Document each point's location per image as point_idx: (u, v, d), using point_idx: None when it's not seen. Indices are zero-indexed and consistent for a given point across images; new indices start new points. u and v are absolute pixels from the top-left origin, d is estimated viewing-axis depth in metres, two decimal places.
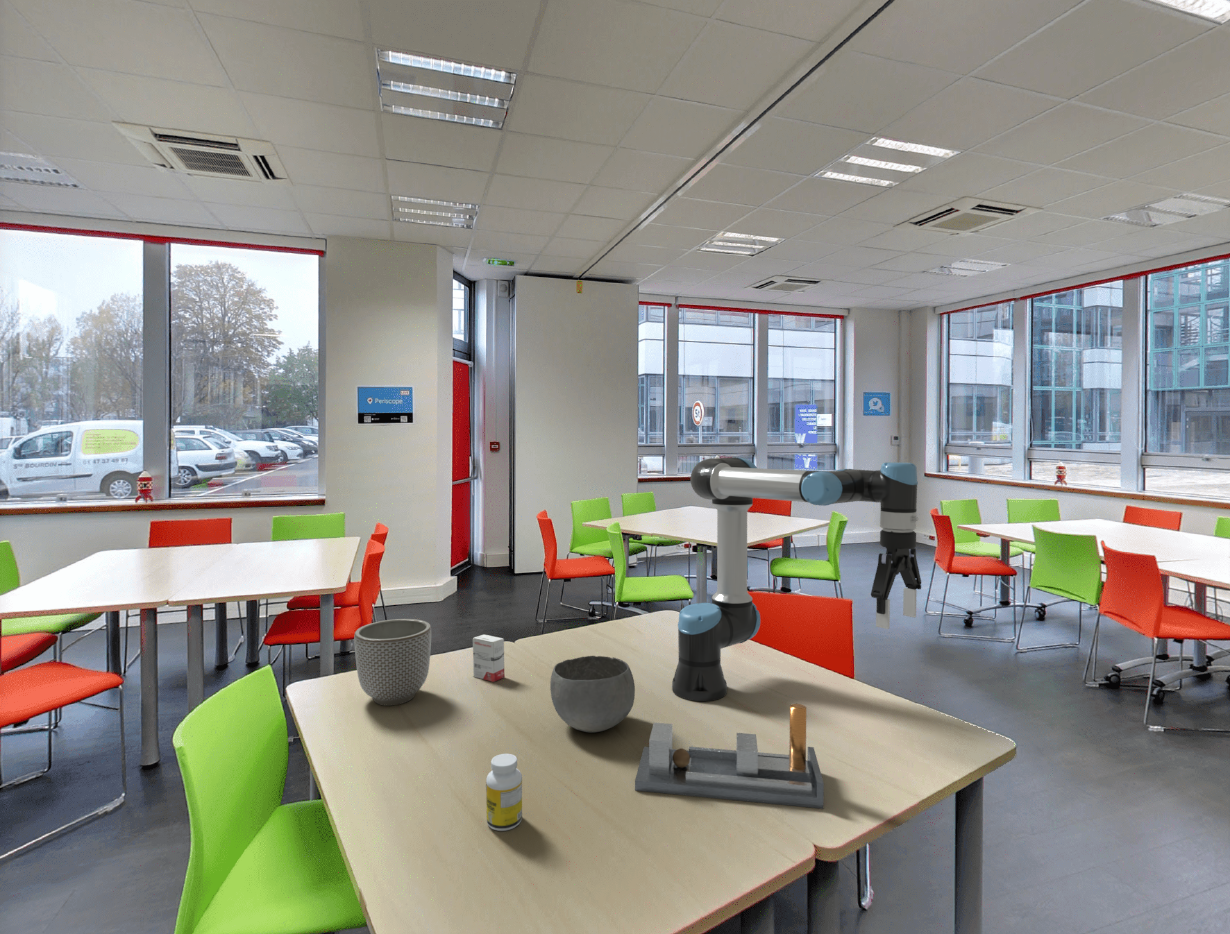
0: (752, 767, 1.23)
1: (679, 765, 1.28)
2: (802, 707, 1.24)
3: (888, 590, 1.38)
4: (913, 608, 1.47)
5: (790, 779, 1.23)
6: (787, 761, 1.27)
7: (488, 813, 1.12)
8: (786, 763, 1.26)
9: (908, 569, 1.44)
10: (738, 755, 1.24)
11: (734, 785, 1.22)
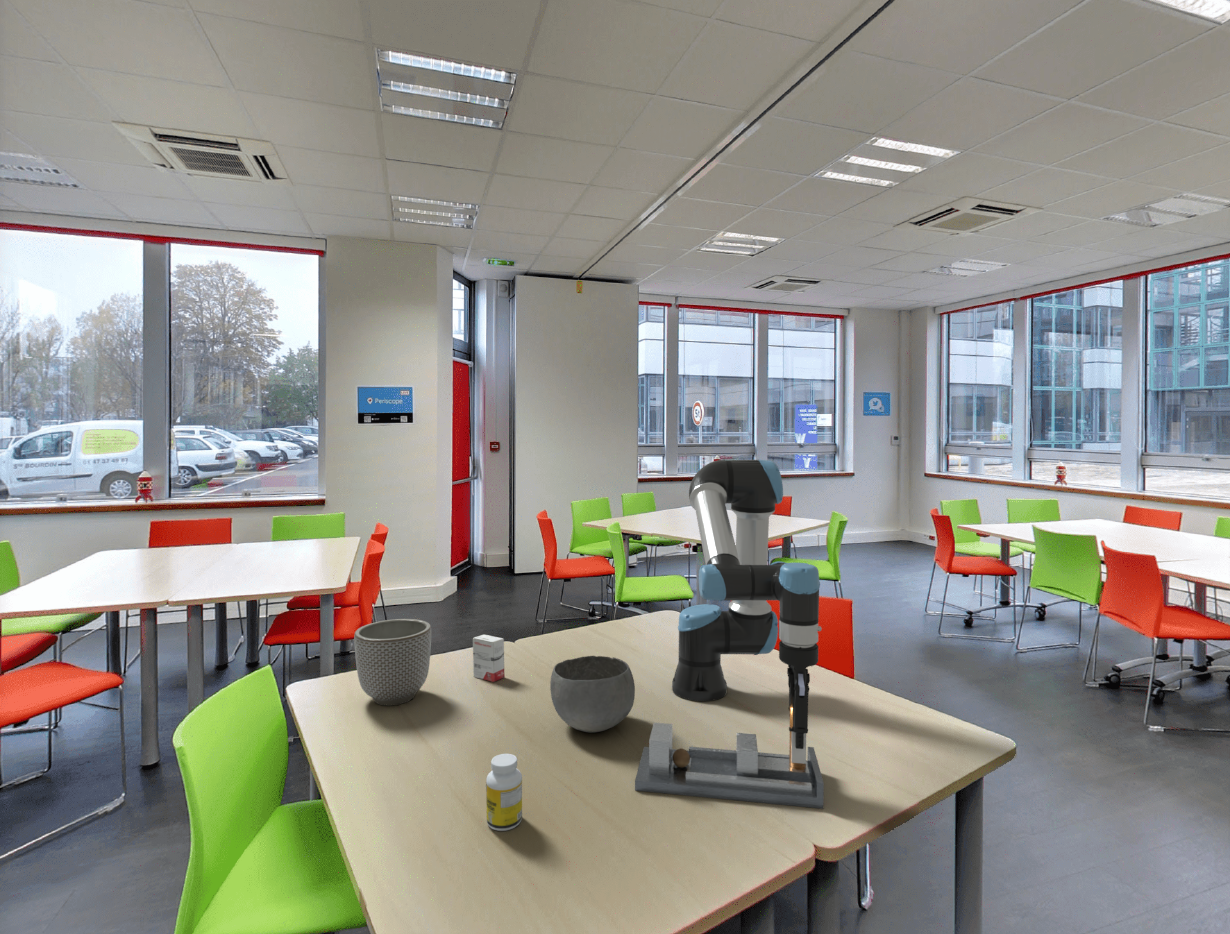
0: (752, 767, 1.23)
1: (679, 765, 1.28)
2: None
3: None
4: None
5: (790, 779, 1.23)
6: (787, 761, 1.27)
7: (488, 813, 1.12)
8: (786, 763, 1.26)
9: None
10: (738, 755, 1.24)
11: (734, 785, 1.22)
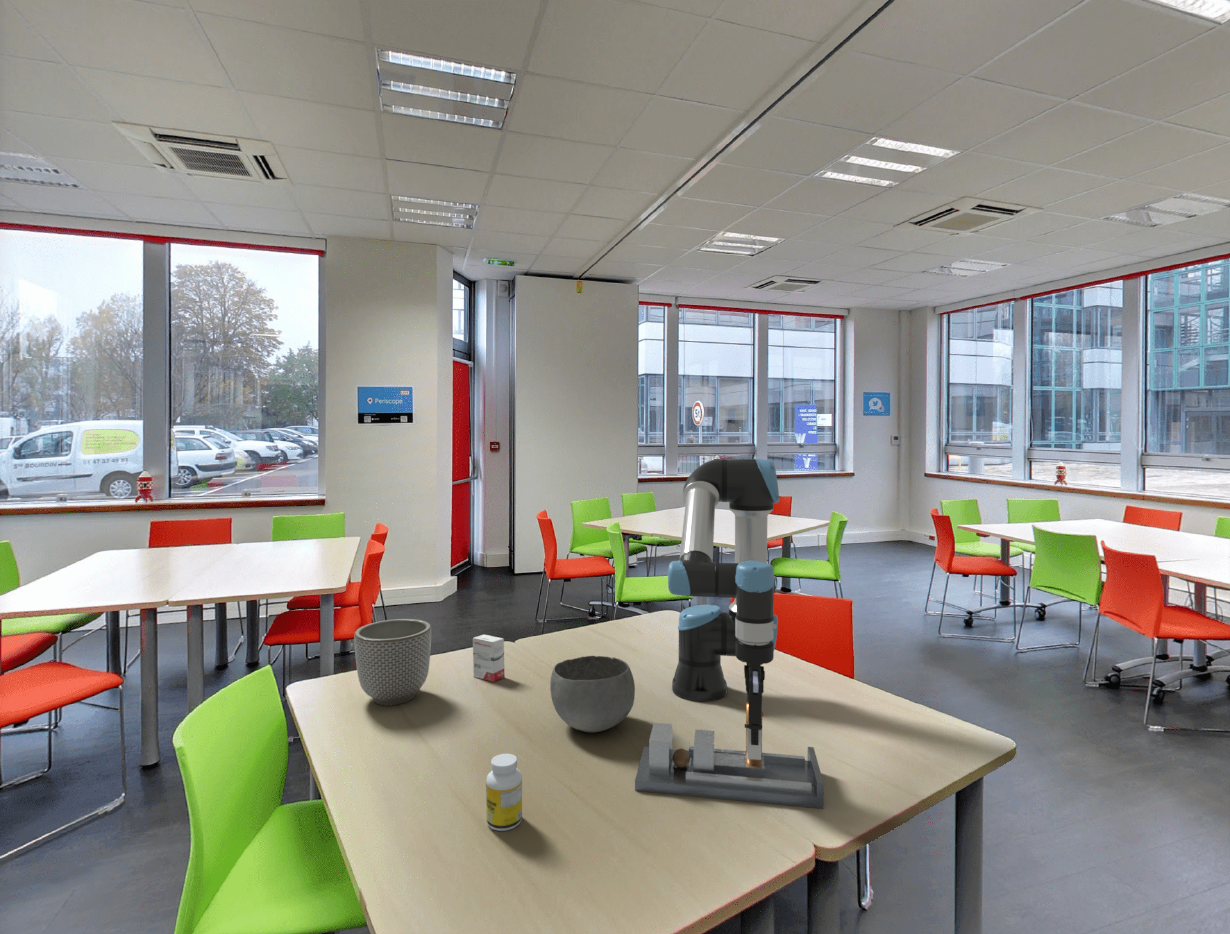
0: (708, 763, 1.25)
1: (679, 765, 1.28)
2: None
3: None
4: None
5: (746, 775, 1.25)
6: (744, 757, 1.29)
7: (488, 813, 1.12)
8: (743, 759, 1.28)
9: None
10: (694, 751, 1.25)
11: (734, 785, 1.22)
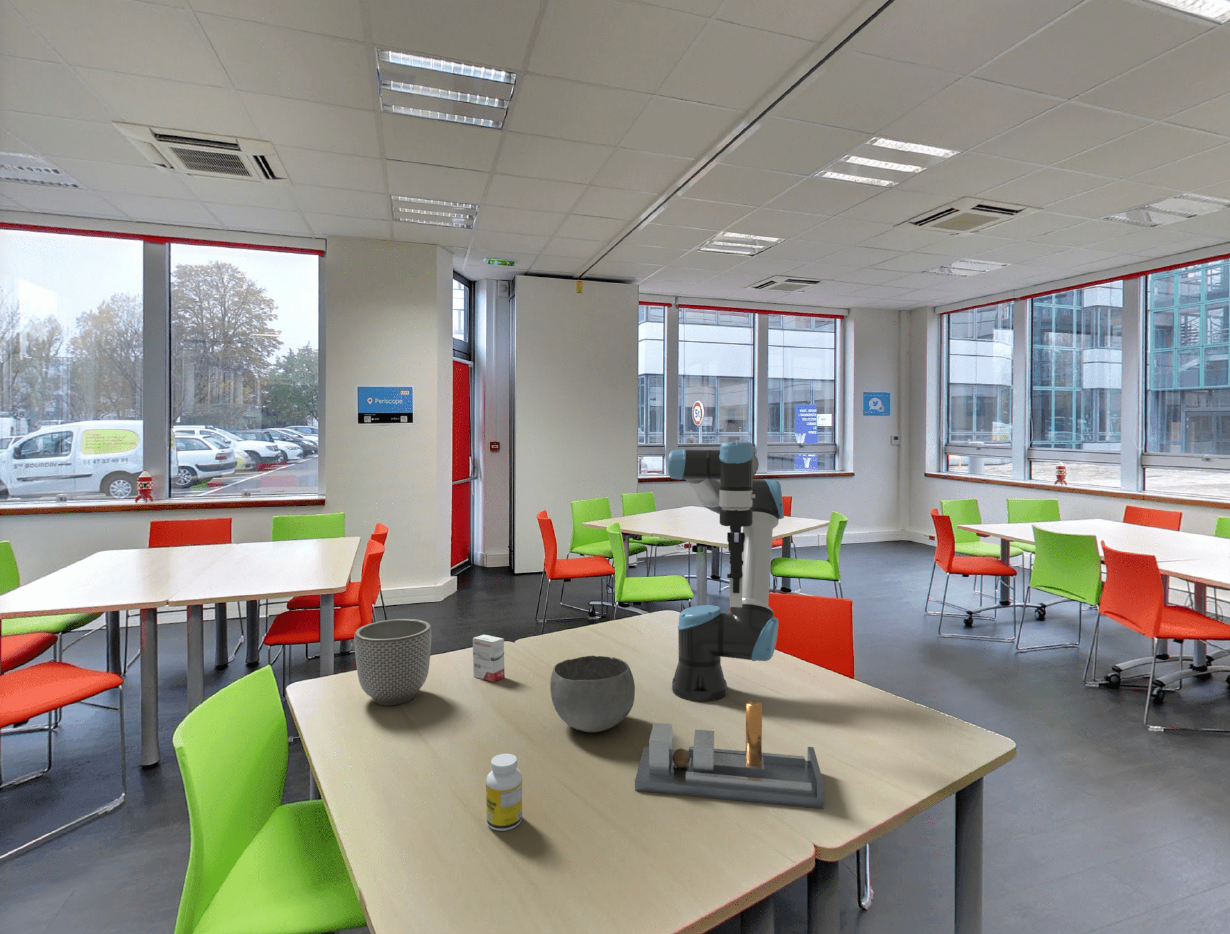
0: (708, 763, 1.25)
1: (679, 765, 1.28)
2: (758, 704, 1.26)
3: None
4: None
5: (745, 775, 1.25)
6: (744, 757, 1.29)
7: (488, 813, 1.12)
8: (742, 759, 1.28)
9: None
10: (694, 751, 1.25)
11: (734, 785, 1.22)
